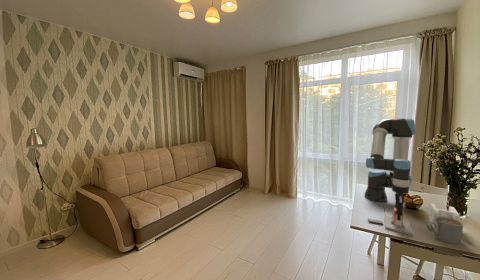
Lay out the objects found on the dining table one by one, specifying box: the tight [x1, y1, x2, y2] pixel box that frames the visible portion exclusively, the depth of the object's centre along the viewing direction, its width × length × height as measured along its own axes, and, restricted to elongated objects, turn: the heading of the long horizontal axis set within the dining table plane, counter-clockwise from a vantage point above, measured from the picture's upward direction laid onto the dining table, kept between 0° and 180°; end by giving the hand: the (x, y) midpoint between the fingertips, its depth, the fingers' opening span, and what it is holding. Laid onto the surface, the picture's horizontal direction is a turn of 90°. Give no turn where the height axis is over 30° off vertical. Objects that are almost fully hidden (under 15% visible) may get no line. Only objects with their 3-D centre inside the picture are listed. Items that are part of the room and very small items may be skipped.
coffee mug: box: [426, 216, 464, 245], centre depth 103 cm, size 13×10×10 cm
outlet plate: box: [384, 215, 414, 236], centre depth 115 cm, size 16×12×1 cm
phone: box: [367, 218, 384, 226], centre depth 119 cm, size 4×7×1 cm, turn 64°
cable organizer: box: [428, 203, 461, 229], centre depth 113 cm, size 15×11×12 cm
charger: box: [392, 207, 405, 227], centre depth 114 cm, size 4×4×9 cm
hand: (397, 222), depth 114 cm, fingers closed on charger, 4 cm apart
